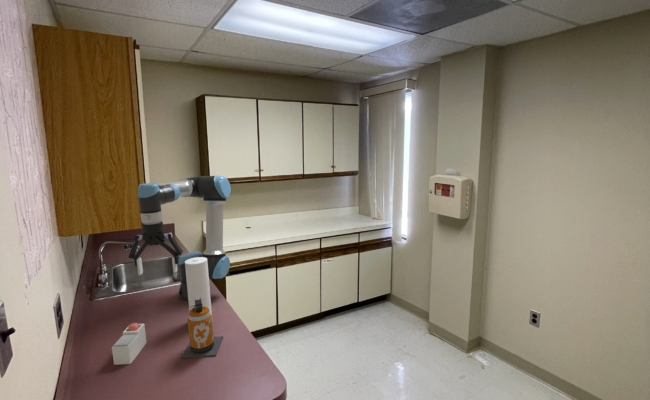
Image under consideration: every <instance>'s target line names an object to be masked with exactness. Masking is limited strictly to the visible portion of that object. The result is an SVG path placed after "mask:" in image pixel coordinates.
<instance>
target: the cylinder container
mask: <svg viewBox="0 0 650 400" xmlns="http://www.w3.org/2000/svg"><path fill="white" fill-rule="evenodd" d="M185 269H186V280H187V290H188V300H187V301H188V309H189V308H190V307H191V306H192V307H191V308H190V309H189V310H191V309H192V308H195V307H194V306H193V305H195V300H199V299H200V298H201V302H202V304H203V305H202V306H206V307H208V308H209V310H210V314H211V315H212V316H213V312H212V301H211V288H210V278H209V274H208V262H207V258H205V257H196V258H191V259H188V260H186V261H185ZM189 310H188V311H189Z"/></svg>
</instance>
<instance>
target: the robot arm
mask: <svg viewBox="0 0 650 400" xmlns="http://www.w3.org/2000/svg"><path fill="white" fill-rule="evenodd" d="M138 185H139V186H138V198H139V203H138V204H139V210H140V211H139V212H140V220H141V223H142V224H141V230H142V234H139V233H138V234H136V235H134V242H133V245H132V247H131V249H130V252H129V253H128V254H129V255H128V259H133V260H134V261H133V262H134V266H135V267H136V268H137V273H138V276H141V275H143V273H144V269H143V261H142V257H140V256H141V255H142V254H143V253H144V251H145V249H146V248H147V247H148V246H151V247H152V246H159V245H160V247H163V249H165V250H166V251H168V252H169V254H170V255H172V257H171V261H172V269H173V273H174V274H175V273H177V272H178V271H179V278H180V284H179V288H178V292H177V294H178V295H177V297H178V299H180V300H182V301H188V290H187V280H186V269H185V261H186V260H188V259H191V258H196V257H205V258H207V262H208V274H209V279H214V280H217V279H223V278H225V277H226V275H228V273H229V271H230V267H231V259H230V258H229V257H228V256H227V255H226V254H227V253H226V252H227V251H225V250H224V204H225V203H226V202H227V199H228V198H230V196H231V193H232V188H231V184H230V181H229V179H227V177H226V176H222V175H197V176H196V175H195V176H192V177H186V178H180V179H178V180H177V181H167V182H166V181H165V182H148V183H147V182H146V183H140V184H138ZM180 197H182V198H197V199H198V198H199V199H201V198H202V200H203V202H204V204H205V205H206V206H205V208H206V210H205V211H206V212H205V250H204V251H203V252H201V251H200V250H199V251H198V250H197V251H196V250H195V251H190V252H187V253H184V251H183V249H182V248H181V246H180V245H179V244H178V242H177V241H176V239H175V238H174V237H175V236H174V234H173V232H172V231H170V232H168V233H165V231H164V230H165V229H164V223H163V213H162V212H163V211H162V205H166V204H168V203H172V202H176V201H177V200H178V199H179V198H180ZM165 238H166V239H167V240H168V241H169V243H170V244H169V243H168V242H167V240H166V239H165ZM142 239H143V241H144V243H143V244H142V245H141V247H140V248H139V245H140V242H141V240H142ZM138 248H139V249H138ZM137 249H138V250H137ZM178 268H179V269H178Z"/></svg>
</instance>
